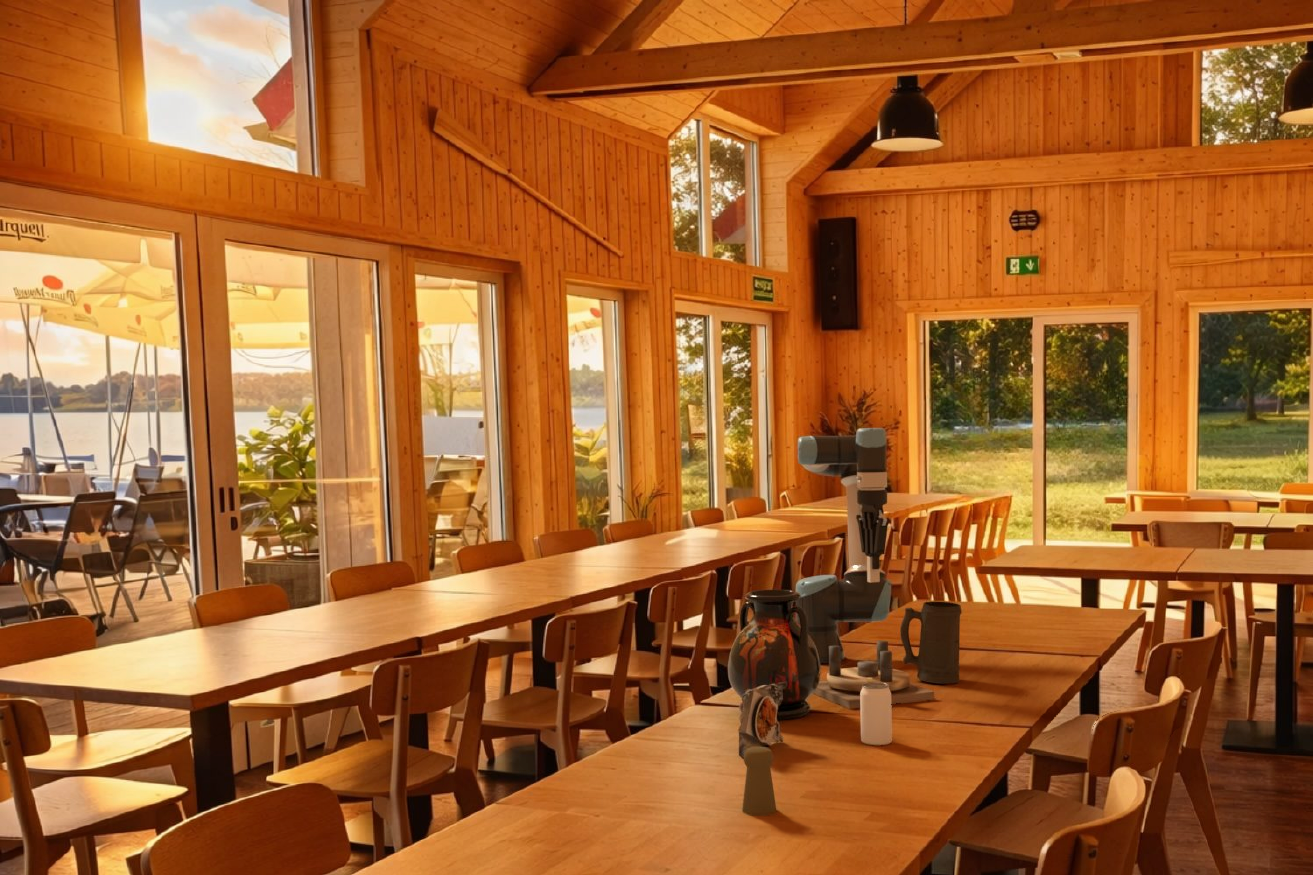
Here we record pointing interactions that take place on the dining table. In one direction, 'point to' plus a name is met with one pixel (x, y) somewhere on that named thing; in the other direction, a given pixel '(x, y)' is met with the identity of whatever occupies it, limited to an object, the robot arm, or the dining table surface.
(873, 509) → the robot arm
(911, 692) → the stand
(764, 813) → the brown tapered piece
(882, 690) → the can
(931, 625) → the beer stein
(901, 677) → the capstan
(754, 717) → the meal
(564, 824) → the dining table surface
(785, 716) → the amphora vase
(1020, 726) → the dining table surface
